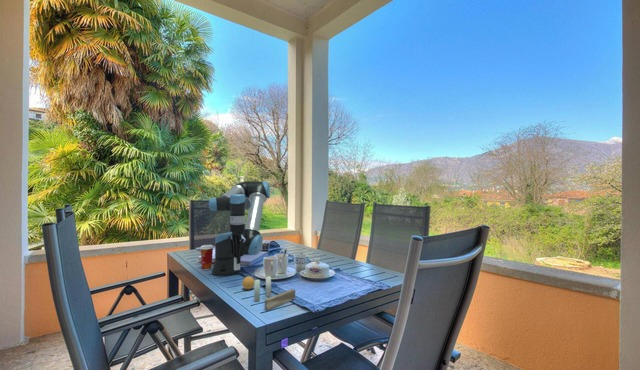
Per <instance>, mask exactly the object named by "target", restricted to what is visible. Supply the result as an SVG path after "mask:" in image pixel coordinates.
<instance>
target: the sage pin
mask: <svg viewBox="0 0 640 370" xmlns="http://www.w3.org/2000/svg"><path fill="white" fill-rule="evenodd" d="M260 283H261V280H260V279H254V286H253V289H254V290H253V295H254V297H253V301H254V302H255V303H258V302H260V301H261V299H260V298H261V297H260V296H261V295H260V294H261V292H260V291H261V285H260Z"/></svg>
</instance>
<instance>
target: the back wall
mask: <svg viewBox="0 0 640 370" xmlns="http://www.w3.org/2000/svg"><path fill="white" fill-rule="evenodd" d="M293 298H295V299H296V289H293V288H291V289H289V290H286V291H284V292H281V293H278V294H276V295H273V296H271V297H269V298H265V299H264V310H265V311H271V310H273V309H276V308H277V307H280V306H282V305H284V304H286V303H289V302H291V299H293Z"/></svg>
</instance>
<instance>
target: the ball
mask: <svg viewBox="0 0 640 370" xmlns="http://www.w3.org/2000/svg"><path fill="white" fill-rule="evenodd" d="M254 280H255V279H254V277H252V276H246V277H244V279H243V280H242V282H241V283H242V284H241V285H242V287H243V289H244V290H251V289H254Z"/></svg>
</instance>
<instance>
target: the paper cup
mask: <svg viewBox="0 0 640 370" xmlns="http://www.w3.org/2000/svg"><path fill="white" fill-rule="evenodd" d="M199 249H200V261H201V262H200V263H201V270H203V269H208V270H212V268H213V252H214V246H213V245H212V244H203V245H201V246H200V247H199Z"/></svg>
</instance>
